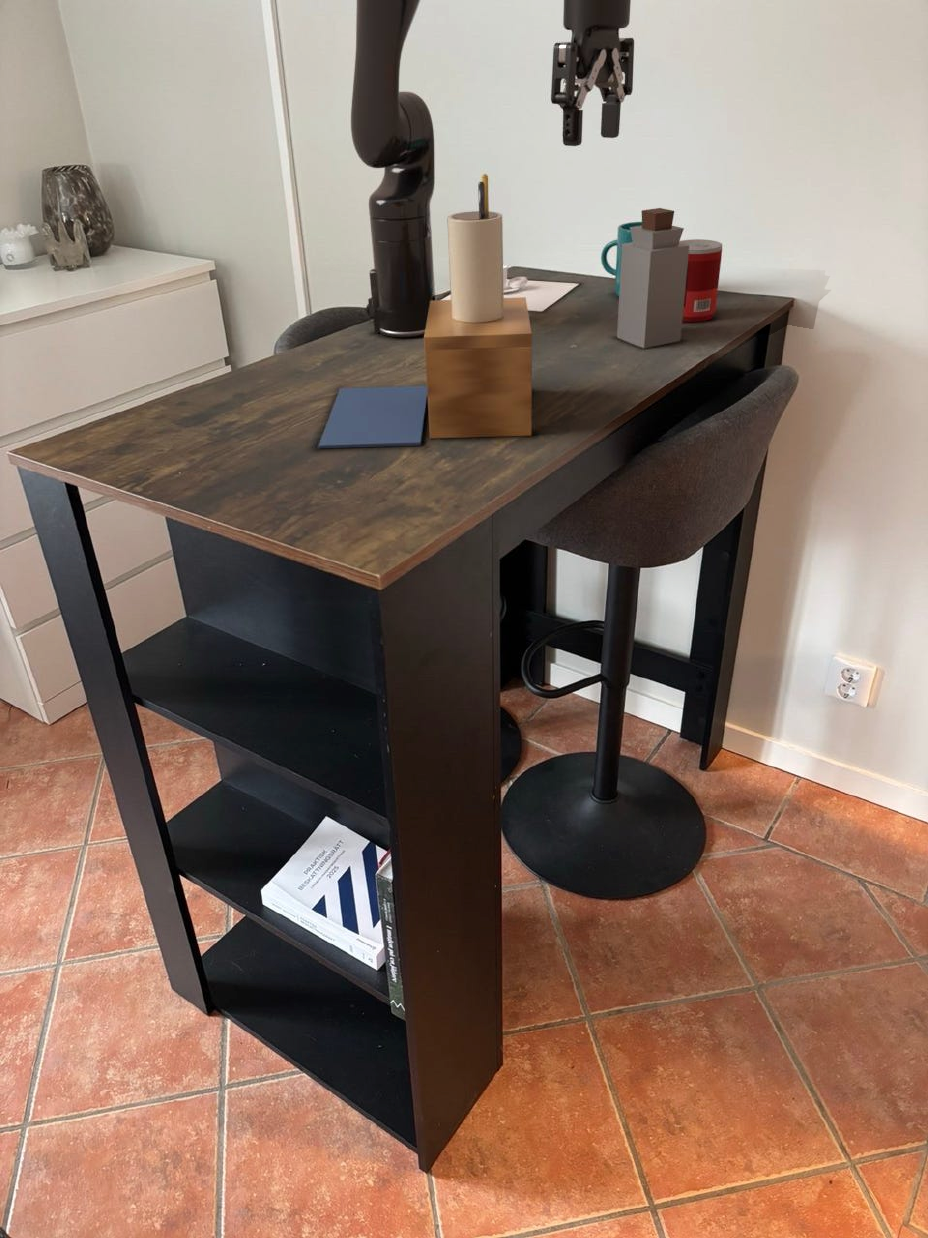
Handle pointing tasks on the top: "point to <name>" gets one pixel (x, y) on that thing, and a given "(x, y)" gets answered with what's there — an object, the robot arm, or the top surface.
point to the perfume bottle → (653, 281)
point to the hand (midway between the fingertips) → (591, 141)
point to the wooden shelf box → (479, 373)
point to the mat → (376, 417)
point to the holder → (476, 262)
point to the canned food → (701, 279)
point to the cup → (618, 251)
